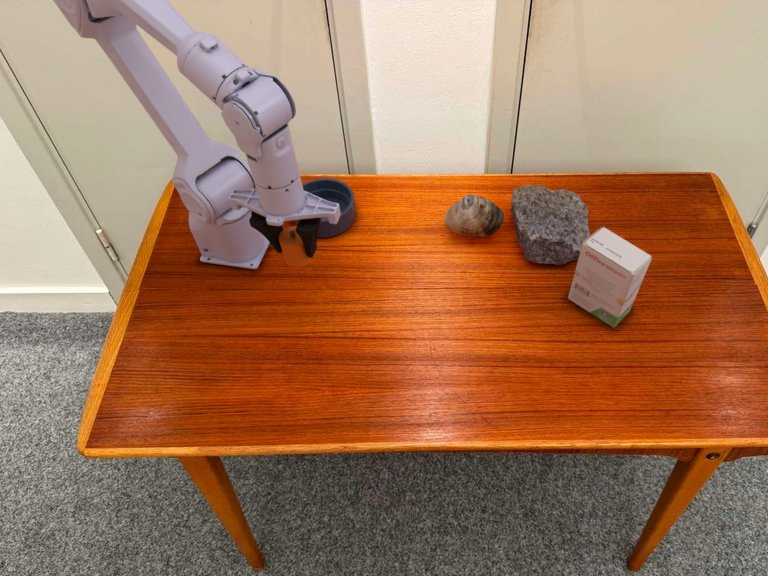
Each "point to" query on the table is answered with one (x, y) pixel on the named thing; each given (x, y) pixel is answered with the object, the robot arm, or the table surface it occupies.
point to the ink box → (608, 276)
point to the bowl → (336, 194)
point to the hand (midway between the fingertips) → (296, 250)
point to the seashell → (474, 217)
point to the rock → (549, 223)
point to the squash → (293, 248)
